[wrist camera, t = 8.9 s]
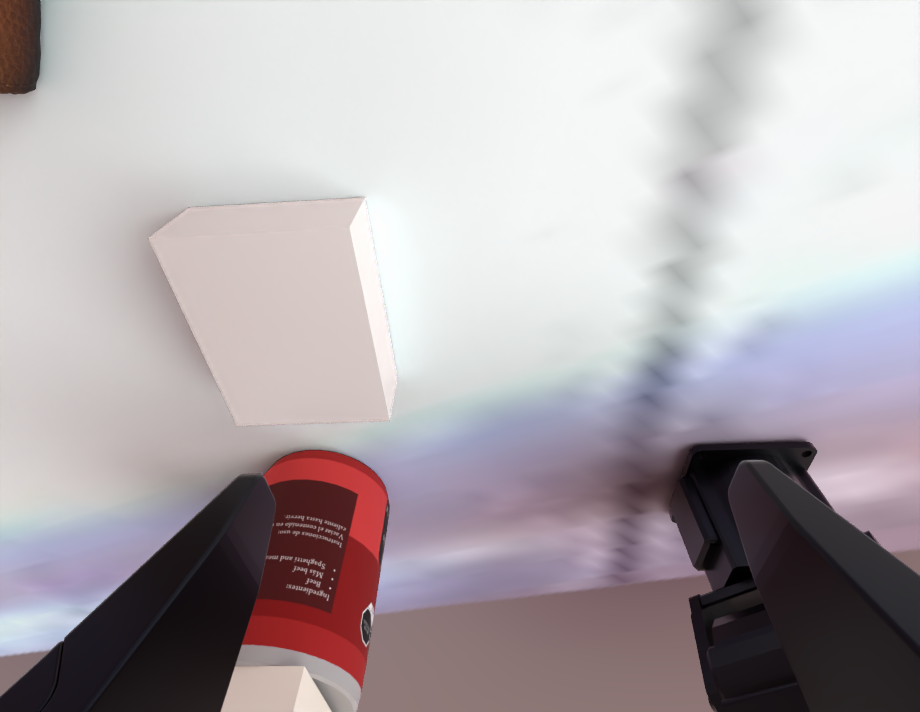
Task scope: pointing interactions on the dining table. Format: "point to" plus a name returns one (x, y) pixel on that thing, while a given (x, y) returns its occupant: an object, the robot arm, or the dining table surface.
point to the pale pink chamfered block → (285, 308)
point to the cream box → (273, 690)
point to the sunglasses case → (19, 45)
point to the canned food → (320, 573)
